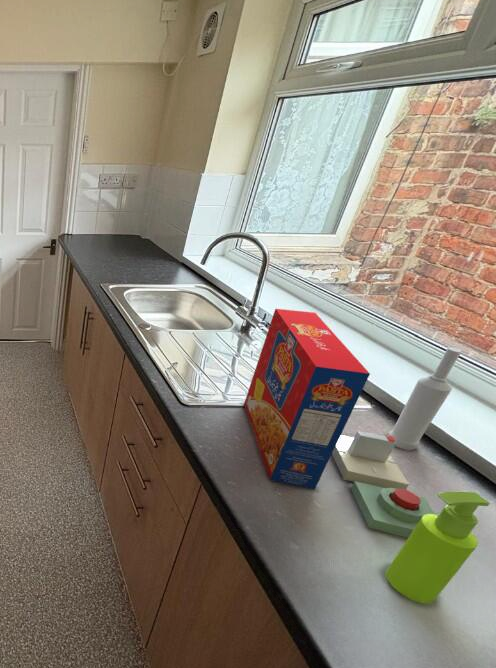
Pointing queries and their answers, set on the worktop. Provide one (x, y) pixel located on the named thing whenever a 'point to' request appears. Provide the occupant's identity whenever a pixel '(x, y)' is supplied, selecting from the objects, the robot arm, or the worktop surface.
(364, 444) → the tap handle
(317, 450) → the pasta box
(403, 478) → the block
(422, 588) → the soap dispenser
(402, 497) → the button
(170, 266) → the worktop surface
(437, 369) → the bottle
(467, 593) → the worktop surface
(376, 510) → the button box
